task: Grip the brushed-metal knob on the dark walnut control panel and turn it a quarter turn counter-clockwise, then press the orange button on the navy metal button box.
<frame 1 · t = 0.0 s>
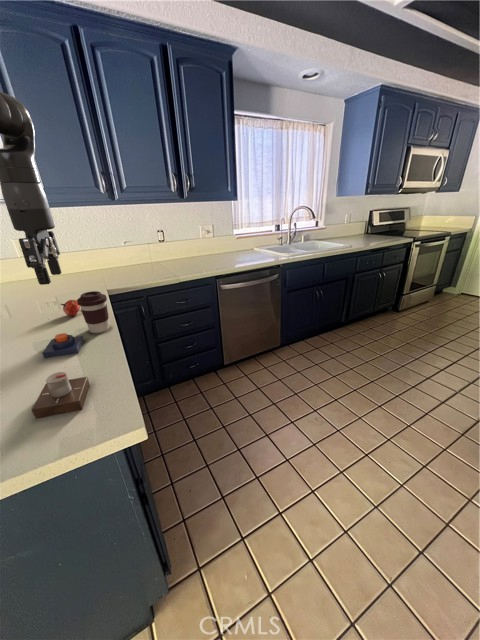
hand: (51, 279, 64), 30 cm above the worktop, tool pointing down, fingers open, 8 cm apart
panel: (65, 400, 69), on the worktop
dial: (58, 383, 66), point 5 cm above the worktop, hinge at 0.0°
pomegranate: (75, 315, 119), on the worktop
button: (61, 337, 90), point 4 cm above the worktop, slide at 0.1 cm
coffee cup: (99, 329, 106), on the worktop
button box: (65, 349, 92), on the worktop
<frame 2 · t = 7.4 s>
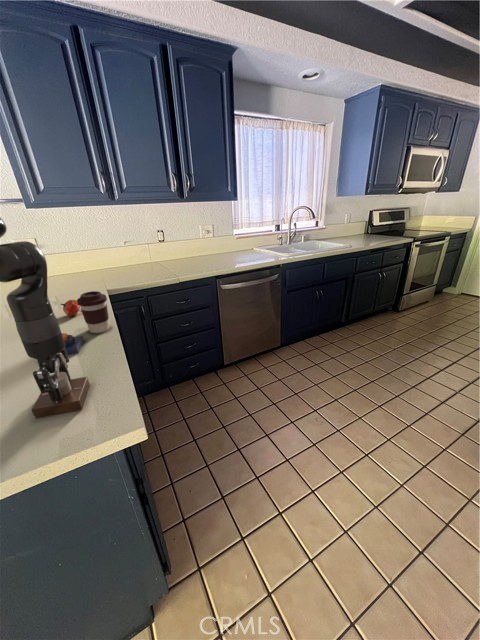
hand: (62, 390, 67), 3 cm above the worktop, tool pointing down, fingers open, 7 cm apart
dial: (58, 383, 66), point 5 cm above the worktop, hinge at 92.5°
everything else where it was.
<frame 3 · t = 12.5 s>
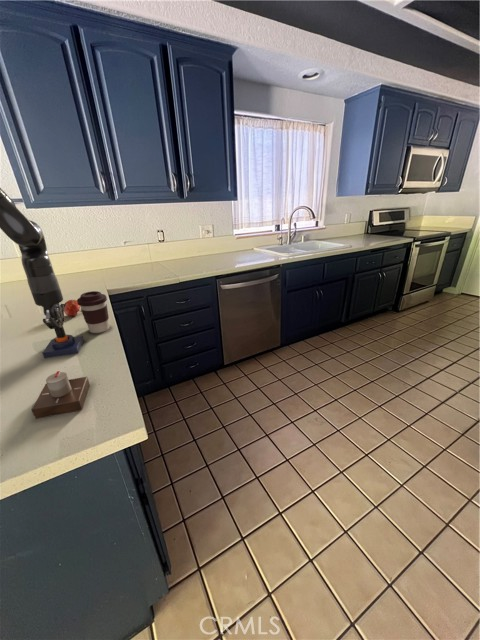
hand: (61, 336, 90), 5 cm above the worktop, tool pointing down, fingers closed
button: (62, 339, 90), point 4 cm above the worktop, slide at -0.3 cm, touching gripper
everything else where it was.
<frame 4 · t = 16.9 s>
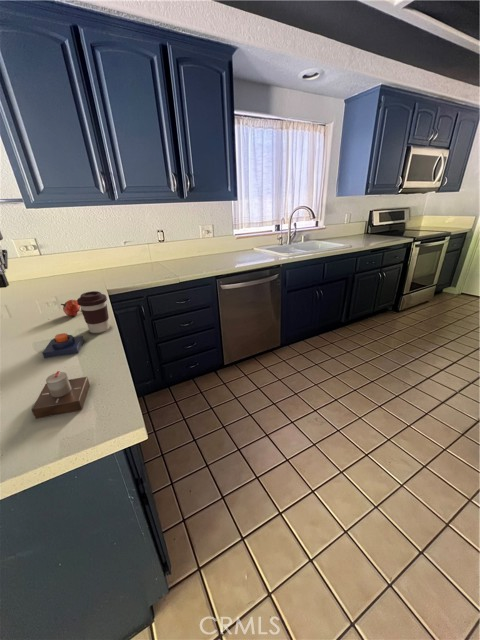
hand: (3, 286, 75), 25 cm above the worktop, tool pointing down, fingers closed
button: (61, 337, 90), point 4 cm above the worktop, slide at 0.1 cm
everything else where it was.
at the end: dial at +92° (first picture: +0°); button pushed in 1.1 cm at the most during the clip, back to where it started at the end; button slide at 0.1 cm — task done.
